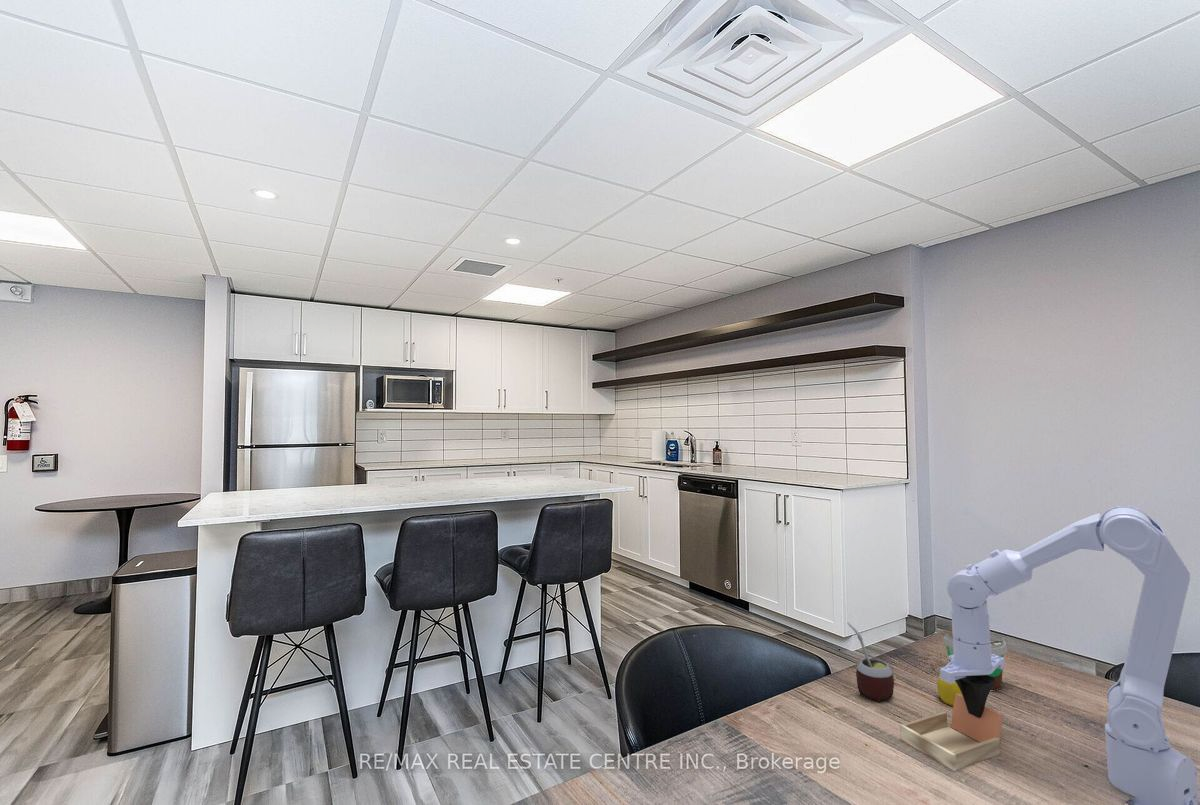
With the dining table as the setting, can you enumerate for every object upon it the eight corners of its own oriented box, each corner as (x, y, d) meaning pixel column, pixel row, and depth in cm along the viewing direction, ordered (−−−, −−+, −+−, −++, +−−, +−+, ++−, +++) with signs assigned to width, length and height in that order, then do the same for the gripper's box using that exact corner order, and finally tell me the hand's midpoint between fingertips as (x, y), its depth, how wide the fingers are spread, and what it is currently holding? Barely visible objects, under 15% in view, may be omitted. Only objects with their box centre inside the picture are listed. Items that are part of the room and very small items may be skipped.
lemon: (975, 717, 108) (973, 676, 108) (944, 715, 109) (942, 674, 109) (963, 703, 113) (961, 664, 114) (933, 701, 115) (931, 662, 115)
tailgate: (995, 750, 95) (999, 714, 96) (950, 727, 102) (955, 693, 103) (998, 750, 95) (1003, 714, 96) (954, 727, 103) (958, 694, 104)
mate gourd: (898, 712, 111) (894, 637, 111) (856, 708, 113) (852, 634, 113) (890, 695, 118) (886, 624, 118) (850, 691, 120) (846, 621, 120)
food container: (953, 690, 119) (950, 643, 119) (944, 677, 125) (942, 633, 125) (1019, 696, 115) (1017, 648, 116) (1007, 683, 121) (1005, 637, 122)
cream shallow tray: (1000, 762, 94) (999, 738, 94) (954, 780, 90) (953, 755, 90) (944, 732, 103) (943, 711, 103) (900, 747, 99) (899, 725, 99)
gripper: (975, 625, 106) (979, 696, 106) (922, 637, 101) (926, 713, 100) (1014, 637, 100) (1019, 714, 99) (960, 651, 94) (964, 732, 94)
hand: (975, 714), depth 99 cm, fingers closed, pressing on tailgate
